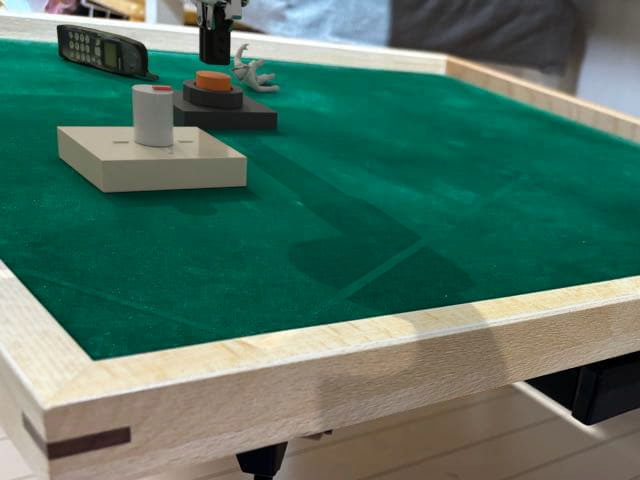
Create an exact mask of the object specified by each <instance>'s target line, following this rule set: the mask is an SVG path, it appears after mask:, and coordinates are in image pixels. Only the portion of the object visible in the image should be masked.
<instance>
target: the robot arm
mask: <svg viewBox="0 0 640 480" xmlns="http://www.w3.org/2000/svg"><path fill="white" fill-rule="evenodd" d="M190 2H191V3H192V4H193V5H194V6H195V7H196V18H197V19H196V20H197V25H198V60H199V61H200V62H202V63H203V64H205V65H207V66H222V67H223V66H224V67H225V66H227V67H228V66H230V65H231V50H232V49H231V47H232V46H231V45H232V43H231V42H232V32H233V30H234V23H235V22H234V21H241V20H242V18H243V10H242V9H243V8H245V7H247V6H248V5H249V4H250V2H251V0H190Z"/></svg>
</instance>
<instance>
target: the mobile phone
mask: <svg viewBox="0 0 640 480" xmlns="http://www.w3.org/2000/svg"><path fill="white" fill-rule="evenodd" d="M56 37H57V38H56V39H57V51H58V52H57V53H58V57H60V58H62V59H64V60H67V61H70V62H73V63H77V64H81V65H85V66H88V67H92V68H95V69H98V70H103V71H105V72H109V73H113V74H117V75H124V76H137V77H141V78H142V77H143V78H146V79H151V80H155V81H159V80H160V76H159V74H154V73H152V72H150V71H149V52H148V49H147V47H146V45H145V44H144V43H143V42H141V41H140V40H137V39H134V38H131V37H129V36H126V35H125V36H124V35H121V34H117V33H113V32H109V31H105V30H100V29H97V28H93V27H86V26H82V25H75V24H69V23H68V24H67V23H65V24H64V23H63V24H57V25H56Z"/></svg>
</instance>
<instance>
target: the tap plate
mask: <svg viewBox="0 0 640 480" xmlns="http://www.w3.org/2000/svg"><path fill="white" fill-rule="evenodd" d="M56 130H57V145H58V146H57V147H58V157H59V158H60V159H61V160H62V161H63V162H65V163H66V164H67V165H69V166H70V167H71V168H72V169H73V170H75V172H77V173H78V174H80V176H82V177H84V179H86V180H87V181H88V182H90V183H91V184H92V185H93V186H94V187H96V188H97V189H98V190H100V191H101V192H102V193H105V194H106V193H125V192H126V193H127V192H144V191H146V192H147V191H149V192H150V191H167V190H168V191H169V190H188V189H189V190H191V189H211V188H214V189H215V188H233V187H246V186H247V169H248V168H247V167H248V157H247V156H246V155H244V154H242V153H241V152H239V151H238V150H236V149H234V148H233V147H231V146H229V145H227V144H226V143H224V142H223V141H221V140H219V139H217V138H216V137H214V136H212V135H211V134H209V133H208V132H206V131H205V130H201V129H199V128H198V127H179V126H173V134H174V143H173V145H170V146H164V147H157V146H148V145H143V144H140V143H137V142H135V141H134V132H133V126H56Z"/></svg>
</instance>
